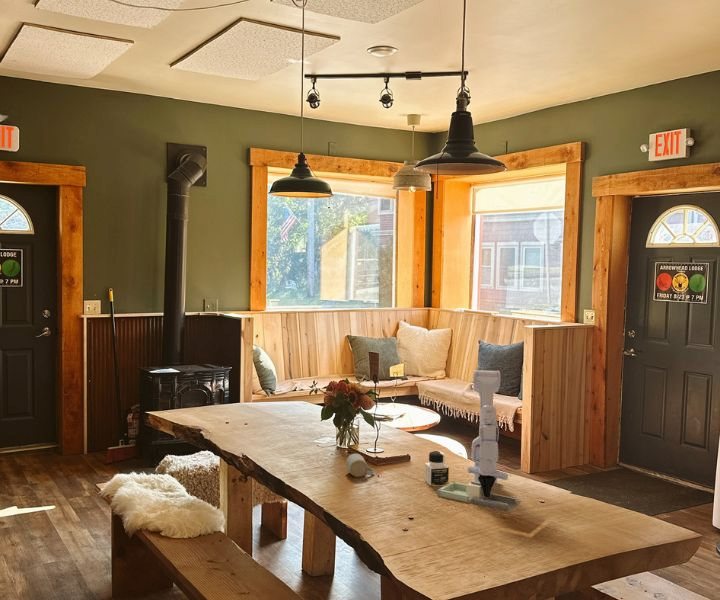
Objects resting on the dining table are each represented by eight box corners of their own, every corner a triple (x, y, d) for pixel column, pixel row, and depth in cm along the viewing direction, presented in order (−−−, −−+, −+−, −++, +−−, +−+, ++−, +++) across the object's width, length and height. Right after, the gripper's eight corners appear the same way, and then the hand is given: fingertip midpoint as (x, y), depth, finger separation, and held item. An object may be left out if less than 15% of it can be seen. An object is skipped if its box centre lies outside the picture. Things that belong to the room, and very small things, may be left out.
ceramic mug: (349, 478, 290) (350, 459, 290) (345, 472, 298) (345, 453, 298) (376, 477, 293) (377, 458, 292) (371, 471, 301) (371, 452, 300)
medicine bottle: (430, 486, 282) (431, 455, 281) (424, 480, 289) (425, 450, 288) (448, 485, 284) (449, 454, 283) (441, 479, 291) (442, 449, 290)
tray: (452, 489, 279) (452, 481, 279) (482, 495, 273) (482, 487, 272) (437, 498, 269) (437, 489, 269) (467, 504, 263) (467, 496, 262)
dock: (482, 495, 273) (482, 489, 272) (521, 504, 264) (521, 497, 264) (467, 504, 263) (467, 498, 262) (507, 514, 254) (507, 506, 254)
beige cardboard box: (472, 494, 271) (472, 479, 270) (485, 497, 268) (485, 482, 267) (466, 498, 267) (466, 482, 266) (479, 501, 264) (479, 485, 263)
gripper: (464, 457, 265) (463, 494, 266) (502, 464, 257) (501, 503, 258) (473, 452, 270) (471, 489, 271) (510, 459, 262) (509, 497, 263)
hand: (486, 496), depth 265 cm, fingers closed
